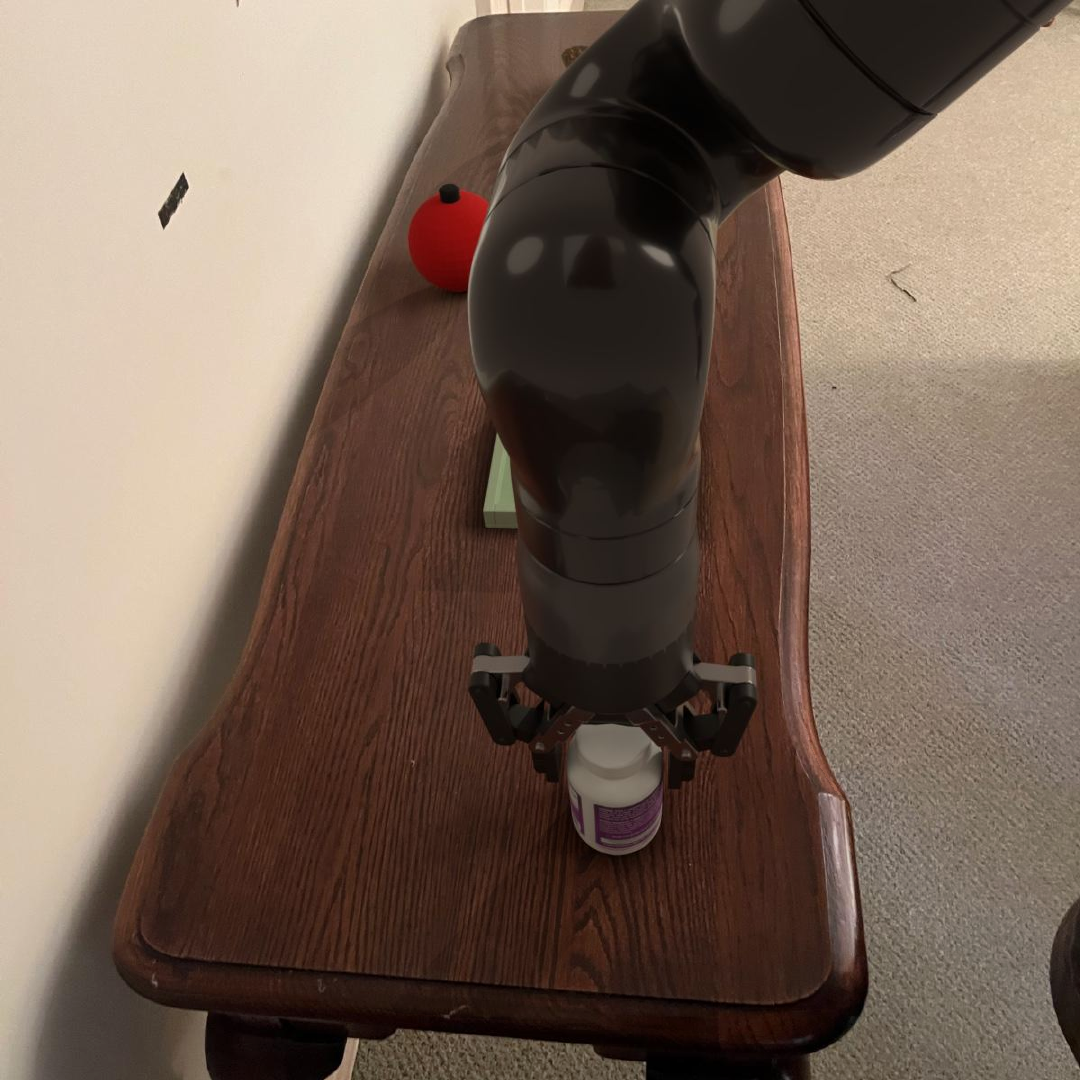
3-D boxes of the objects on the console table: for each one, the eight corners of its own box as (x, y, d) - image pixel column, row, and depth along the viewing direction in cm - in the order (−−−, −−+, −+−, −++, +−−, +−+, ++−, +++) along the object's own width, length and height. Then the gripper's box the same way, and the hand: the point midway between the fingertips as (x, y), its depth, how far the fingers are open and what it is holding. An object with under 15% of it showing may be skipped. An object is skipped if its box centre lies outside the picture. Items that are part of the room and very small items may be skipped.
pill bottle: (677, 797, 60) (683, 715, 52) (636, 874, 57) (637, 798, 50) (597, 758, 62) (593, 674, 54) (554, 830, 59) (543, 751, 52)
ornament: (428, 254, 99) (410, 159, 91) (517, 256, 97) (507, 160, 90) (407, 310, 93) (386, 214, 85) (501, 313, 92) (489, 216, 84)
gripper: (428, 653, 41) (477, 827, 54) (787, 667, 39) (749, 843, 52) (455, 515, 46) (494, 706, 58) (776, 523, 44) (744, 717, 57)
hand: (614, 770), depth 55 cm, fingers open, 6 cm apart
